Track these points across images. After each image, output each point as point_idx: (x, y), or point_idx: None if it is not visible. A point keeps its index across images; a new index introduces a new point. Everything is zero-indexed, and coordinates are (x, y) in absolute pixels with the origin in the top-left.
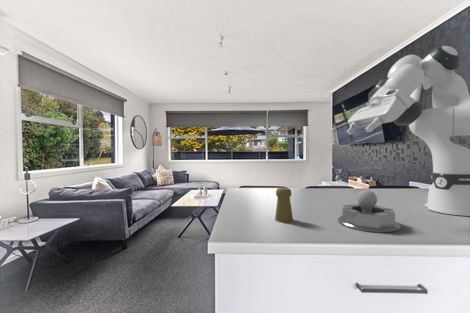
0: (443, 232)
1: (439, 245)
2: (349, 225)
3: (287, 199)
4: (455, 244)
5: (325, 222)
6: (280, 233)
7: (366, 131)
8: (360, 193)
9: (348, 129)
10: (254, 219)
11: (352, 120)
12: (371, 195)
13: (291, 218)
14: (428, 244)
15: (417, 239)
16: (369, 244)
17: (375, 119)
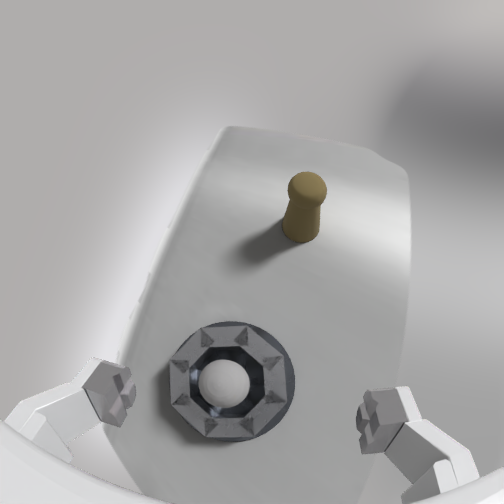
0: (148, 463)
1: None
2: (217, 324)
3: (291, 201)
4: None
5: (264, 299)
6: (228, 196)
7: (133, 382)
8: (225, 365)
9: (413, 403)
10: None
11: (492, 480)
12: (200, 379)
13: (286, 231)
14: None
15: None
16: (142, 297)
17: (30, 414)
